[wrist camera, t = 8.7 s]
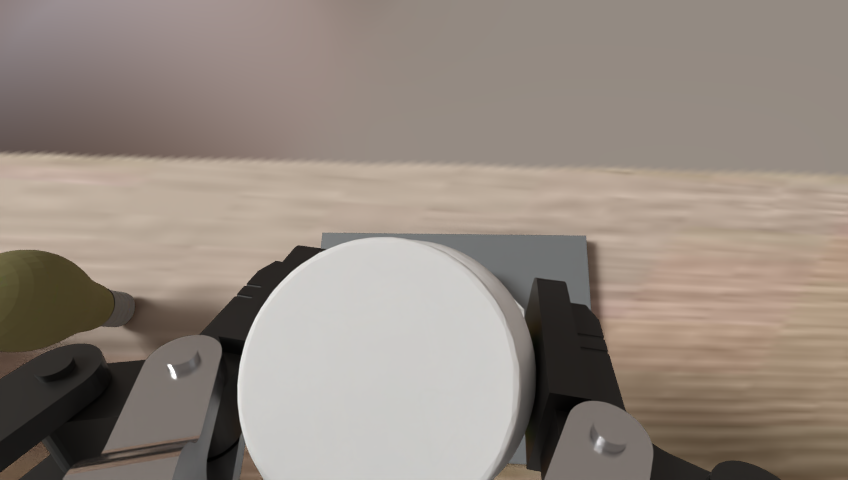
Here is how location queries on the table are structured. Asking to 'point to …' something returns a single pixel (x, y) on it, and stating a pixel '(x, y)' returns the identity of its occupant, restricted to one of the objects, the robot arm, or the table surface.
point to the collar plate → (510, 265)
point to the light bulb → (52, 301)
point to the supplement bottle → (386, 368)
